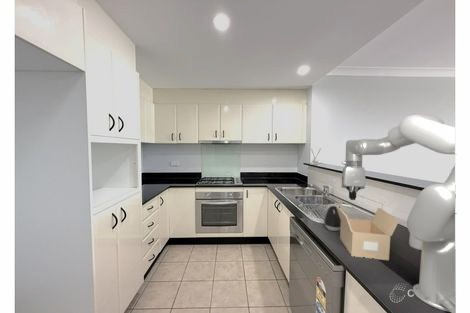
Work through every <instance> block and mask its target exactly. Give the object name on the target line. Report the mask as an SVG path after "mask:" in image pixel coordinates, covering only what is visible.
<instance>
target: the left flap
mask: <svg viewBox="0 0 470 313" xmlns="http://www.w3.org/2000/svg"><path fill="white" fill-rule="evenodd" d="M335 206H336V208H337V211H338V214H339V217H340V219H341V220H342V221H343V223H344V224H345V225H346V226H347V227H348V229H349V230H350V231H351V232H353V231H352V229H351V226H350V223H349V220H348V219H349V217H348V215H347V214H346V213H345V212H344V210H342V209H341V207H340V206H338V205H337V204H335ZM339 207H340V208H339Z"/></svg>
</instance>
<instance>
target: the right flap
mask: <svg viewBox="0 0 470 313" xmlns="http://www.w3.org/2000/svg"><path fill="white" fill-rule="evenodd" d="M371 221H373V222H374V223H375V224H377V225H378V226H379V227H380V228H381V229H383V230H384V231H385V232H386V233H387V234H389V235H390V237H391V236H393V235H394V232H395V230H396V228H397V227H398V223H399V222H400V220H399V219H398V218H396V217H394V216H393V215H391V214H390V213H388V212H386V211H385V210H383V209H382V208H380V207H377V209H376V212H375V213H374V216H373V217H372V220H371Z"/></svg>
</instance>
